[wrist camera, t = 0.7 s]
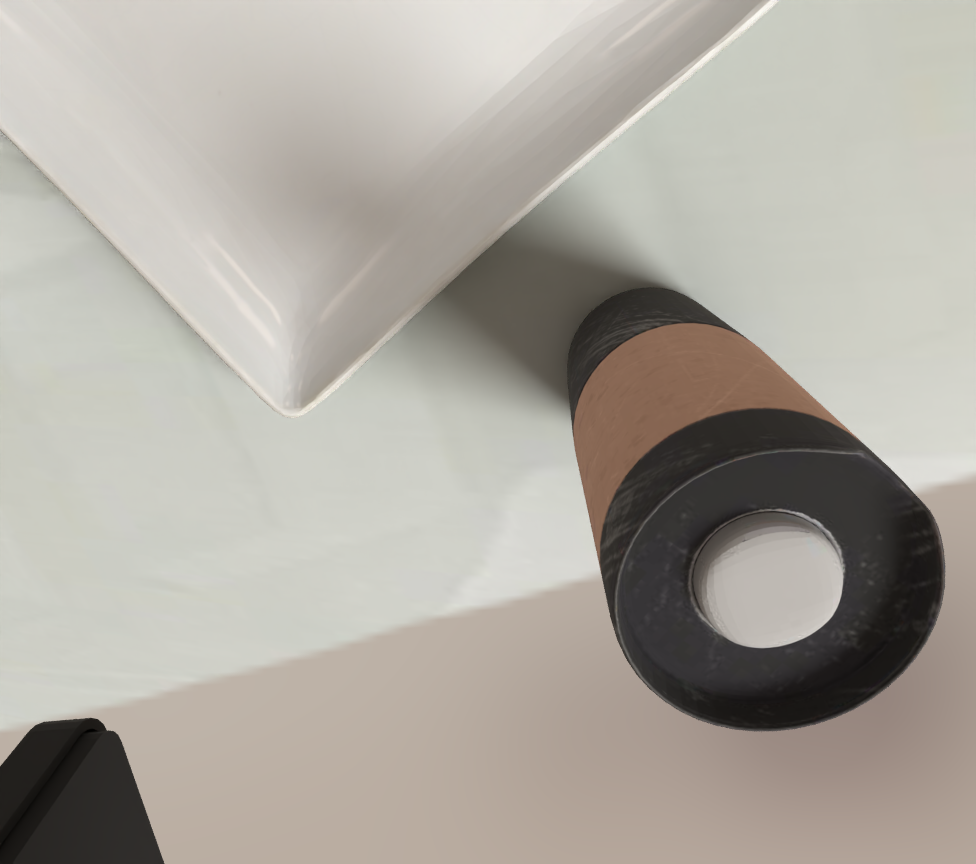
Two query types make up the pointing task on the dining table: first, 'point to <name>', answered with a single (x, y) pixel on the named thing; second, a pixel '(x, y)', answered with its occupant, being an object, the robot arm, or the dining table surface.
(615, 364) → the travel mug
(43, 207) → the dining table surface
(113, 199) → the square plate
